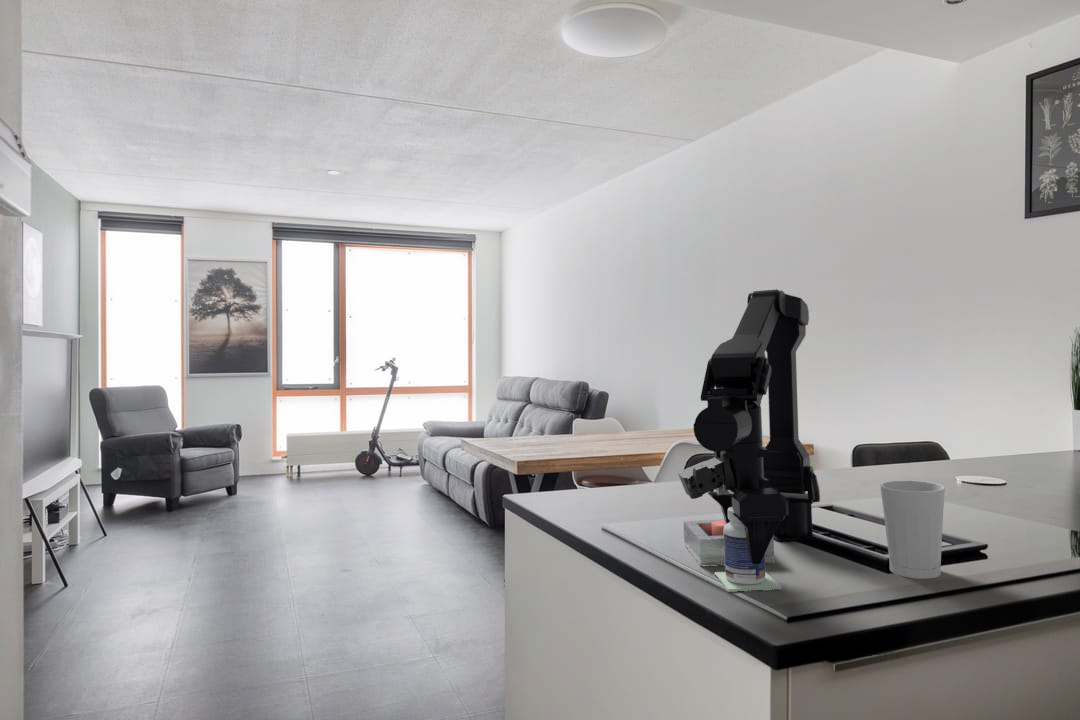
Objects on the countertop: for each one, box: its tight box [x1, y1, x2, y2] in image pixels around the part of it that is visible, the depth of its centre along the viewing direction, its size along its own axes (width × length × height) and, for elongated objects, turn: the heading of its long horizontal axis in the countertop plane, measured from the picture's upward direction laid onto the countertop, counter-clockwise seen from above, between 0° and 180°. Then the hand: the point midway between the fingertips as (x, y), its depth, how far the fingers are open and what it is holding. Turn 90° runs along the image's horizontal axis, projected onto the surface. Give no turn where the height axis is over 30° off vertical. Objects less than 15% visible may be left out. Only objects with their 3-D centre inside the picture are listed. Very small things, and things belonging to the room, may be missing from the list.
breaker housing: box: [683, 518, 775, 566], centre depth 110 cm, size 11×11×4 cm
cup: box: [879, 479, 946, 580], centre depth 98 cm, size 8×8×12 cm
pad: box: [714, 571, 781, 593], centre depth 97 cm, size 7×7×1 cm
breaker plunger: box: [712, 519, 726, 536], centre depth 110 cm, size 4×4×3 cm
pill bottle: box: [724, 507, 766, 584], centre depth 97 cm, size 5×5×10 cm
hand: (745, 553), depth 97 cm, fingers open, 9 cm apart
